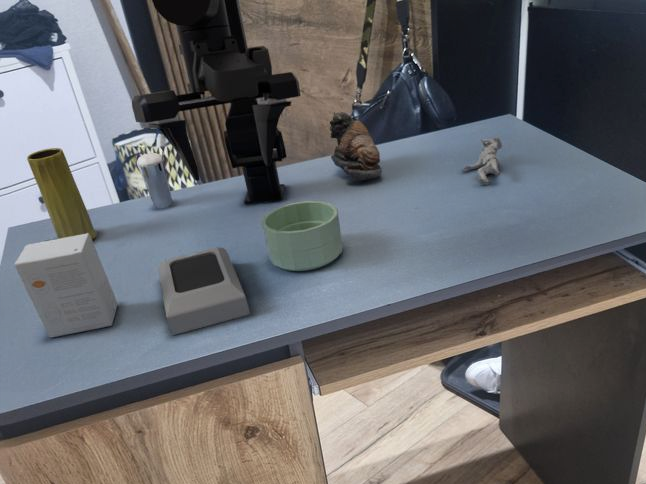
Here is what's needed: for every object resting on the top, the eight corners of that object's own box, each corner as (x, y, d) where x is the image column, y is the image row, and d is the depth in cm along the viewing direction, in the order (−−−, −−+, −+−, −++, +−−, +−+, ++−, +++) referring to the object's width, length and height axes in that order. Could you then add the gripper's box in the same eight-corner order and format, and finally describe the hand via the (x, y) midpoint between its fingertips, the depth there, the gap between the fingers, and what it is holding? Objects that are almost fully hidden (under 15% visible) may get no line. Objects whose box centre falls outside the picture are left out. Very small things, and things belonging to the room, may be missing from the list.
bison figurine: (391, 178, 110) (386, 118, 104) (356, 189, 108) (348, 129, 102) (358, 162, 119) (351, 106, 114) (324, 172, 117) (316, 115, 111)
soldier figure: (463, 192, 104) (456, 147, 111) (484, 206, 106) (476, 160, 113) (499, 160, 99) (489, 114, 106) (520, 175, 101) (509, 130, 108)
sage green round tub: (274, 244, 94) (266, 205, 91) (343, 236, 93) (338, 197, 90) (266, 277, 86) (257, 236, 82) (342, 269, 85) (335, 227, 82)
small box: (119, 304, 85) (91, 231, 79) (113, 326, 80) (82, 251, 74) (58, 316, 84) (25, 243, 78) (48, 339, 79) (12, 263, 73)
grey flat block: (163, 309, 74) (154, 258, 86) (172, 335, 76) (162, 282, 89) (243, 288, 76) (223, 240, 88) (250, 314, 78) (230, 264, 90)
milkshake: (174, 210, 111) (157, 152, 105) (146, 211, 112) (128, 154, 106) (185, 199, 114) (169, 143, 109) (158, 200, 115) (140, 145, 110)
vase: (61, 251, 102) (24, 163, 94) (57, 238, 106) (22, 154, 98) (100, 240, 104) (67, 153, 96) (94, 228, 108) (62, 144, 100)
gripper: (135, 33, 61) (176, 196, 68) (309, 12, 68) (331, 161, 75) (114, 43, 70) (151, 186, 77) (270, 24, 78) (292, 156, 84)
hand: (233, 172), depth 78 cm, fingers open, 9 cm apart
